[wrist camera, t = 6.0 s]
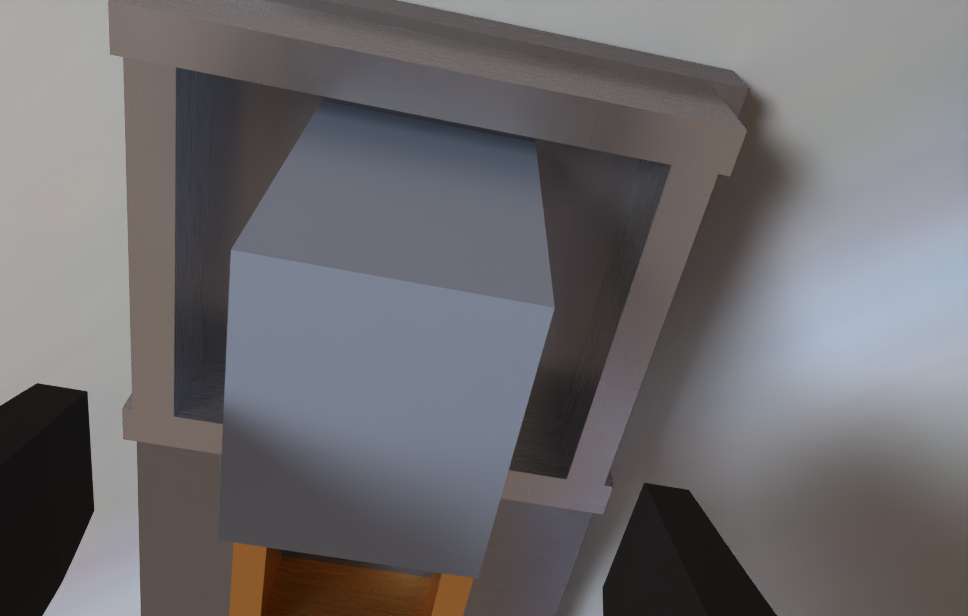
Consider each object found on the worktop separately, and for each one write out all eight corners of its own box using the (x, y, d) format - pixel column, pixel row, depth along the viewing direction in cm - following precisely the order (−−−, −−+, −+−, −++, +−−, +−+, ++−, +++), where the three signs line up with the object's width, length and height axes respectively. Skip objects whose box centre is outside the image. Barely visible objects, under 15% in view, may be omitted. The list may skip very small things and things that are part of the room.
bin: (530, 644, 25) (535, 763, 22) (156, 591, 24) (105, 707, 21) (732, 70, 16) (789, 133, 13) (150, -52, 15) (60, -16, 12)
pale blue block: (483, 359, 18) (477, 578, 13) (299, 327, 18) (218, 540, 12) (535, 142, 15) (554, 308, 10) (321, 100, 15) (230, 250, 10)
